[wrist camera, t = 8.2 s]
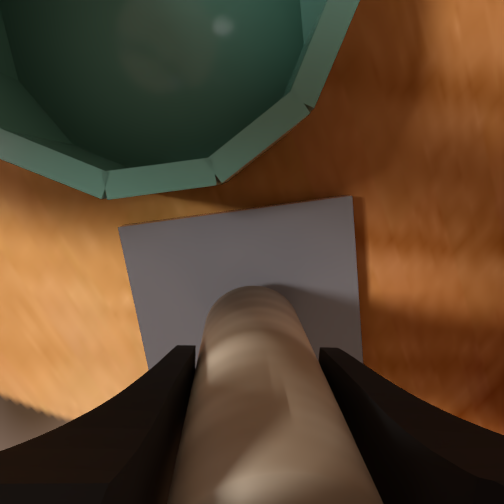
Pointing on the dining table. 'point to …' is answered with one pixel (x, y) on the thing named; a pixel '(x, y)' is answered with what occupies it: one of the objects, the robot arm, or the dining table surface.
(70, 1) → the green pot
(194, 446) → the birch dowel
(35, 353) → the dining table surface
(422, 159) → the dining table surface
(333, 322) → the charcoal coaster
